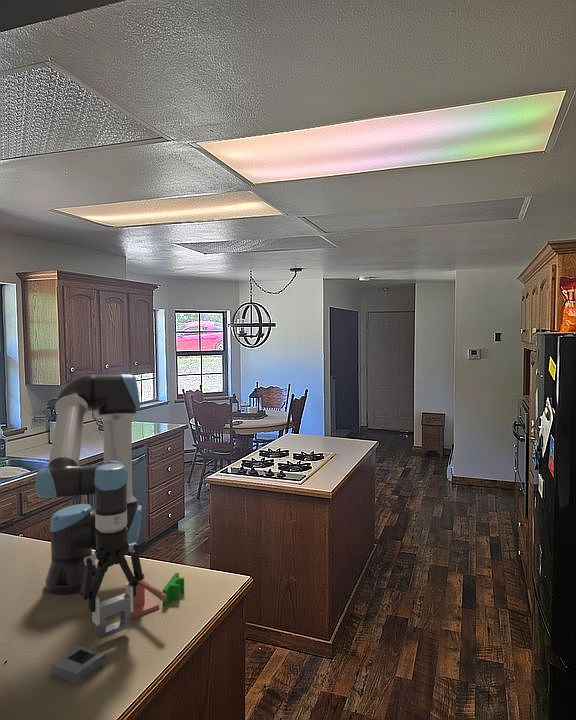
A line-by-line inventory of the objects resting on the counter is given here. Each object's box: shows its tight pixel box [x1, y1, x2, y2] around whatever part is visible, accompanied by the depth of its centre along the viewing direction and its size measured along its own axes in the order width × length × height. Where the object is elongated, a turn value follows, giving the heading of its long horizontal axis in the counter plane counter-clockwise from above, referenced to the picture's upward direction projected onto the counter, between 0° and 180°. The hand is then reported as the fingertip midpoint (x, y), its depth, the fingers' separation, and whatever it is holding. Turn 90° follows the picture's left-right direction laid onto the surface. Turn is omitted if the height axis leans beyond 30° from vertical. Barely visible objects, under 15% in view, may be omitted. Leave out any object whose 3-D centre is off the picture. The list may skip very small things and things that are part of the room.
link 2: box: [95, 592, 132, 640], centre depth 130 cm, size 2×8×8 cm, turn 133°
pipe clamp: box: [162, 572, 185, 606], centre depth 152 cm, size 11×4×5 cm, turn 174°
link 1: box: [50, 644, 106, 686], centre depth 118 cm, size 8×8×2 cm
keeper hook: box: [130, 571, 167, 619], centre depth 142 cm, size 20×8×10 cm, turn 43°
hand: (113, 616), depth 130 cm, fingers closed on link 2, 8 cm apart
